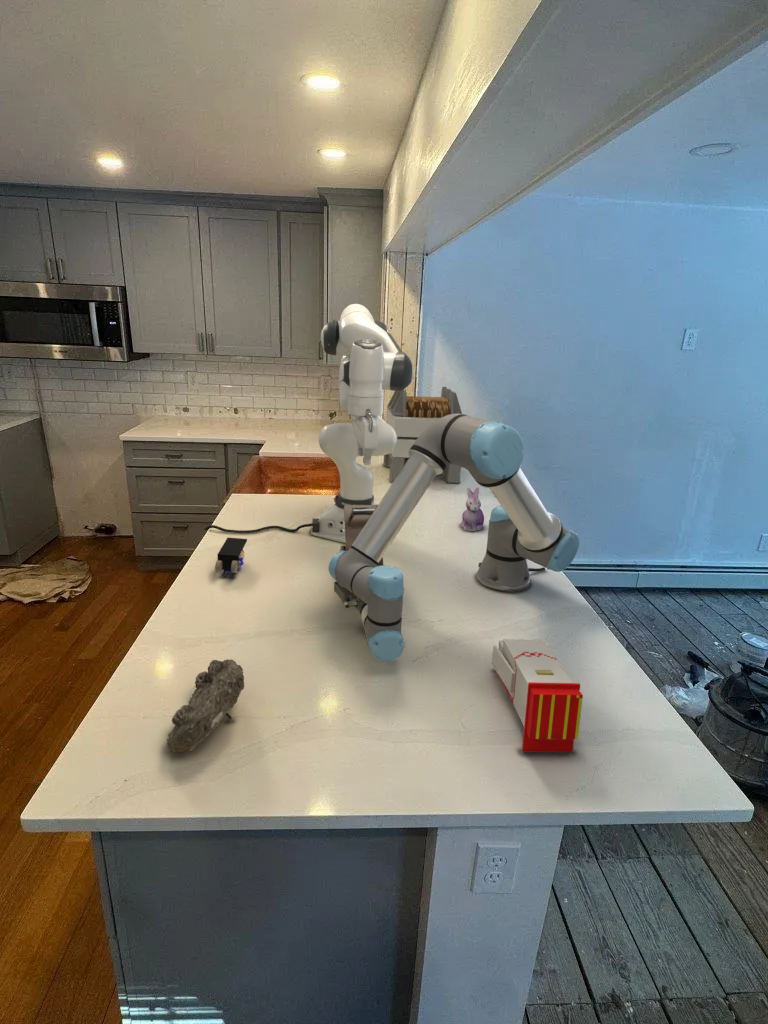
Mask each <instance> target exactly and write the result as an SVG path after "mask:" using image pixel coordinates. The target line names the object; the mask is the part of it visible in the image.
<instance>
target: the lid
mask: <svg viewBox="0 0 768 1024" xmlns="http://www.w3.org/2000/svg"><path fill="white" fill-rule="evenodd" d="M378 505H379V504H374V505H344V519H345V540H346V543H345V546H346V551H348V550H349V549H350V547H351V546H352V544H353V543H354V541H355V540H356V538H357V536H358V535H359V533H360V532H361V530H362V529H363V527H364V526H365V524H366V523H367V521H368V520H369V518H370V517H371V515H372V514H373V512H374V511H375V509H376V508H377V506H378ZM377 566H384V556H383V557H382V558H381V560H380V561H379V563H378V565H377ZM377 566H376V567H377Z"/></svg>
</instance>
